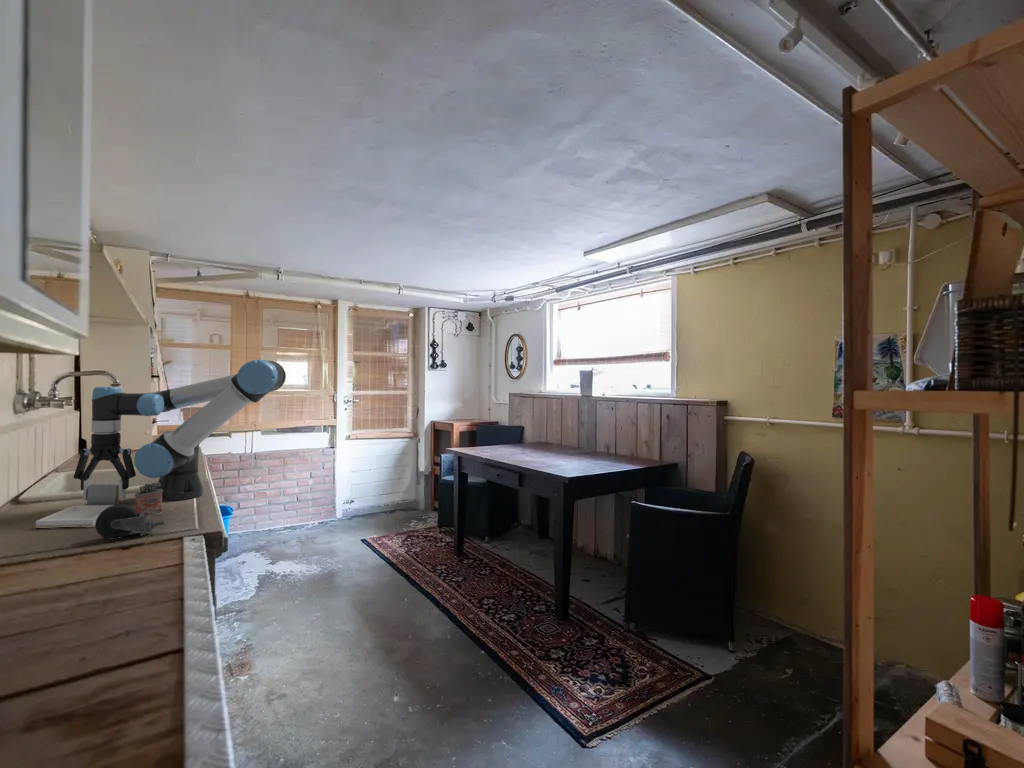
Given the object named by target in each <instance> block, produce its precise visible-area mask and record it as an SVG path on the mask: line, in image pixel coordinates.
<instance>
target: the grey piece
mask: <svg viewBox="0 0 1024 768" xmlns="http://www.w3.org/2000/svg"><path fill="white" fill-rule="evenodd" d="M120 502H121V500H119V484H115V483H114V484H109V483H108V484H96V483H95V484H92V483H91V485H90V487H89V490H88V495H87V500H86V506H87V505H120Z"/></svg>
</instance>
